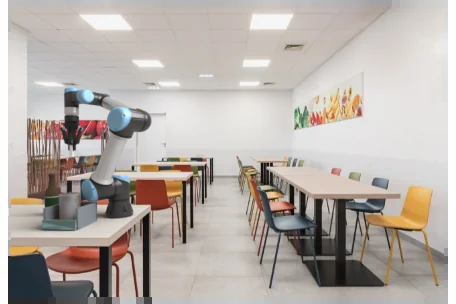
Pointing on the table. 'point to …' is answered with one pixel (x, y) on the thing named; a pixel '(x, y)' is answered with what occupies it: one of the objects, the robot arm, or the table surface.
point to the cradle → (82, 215)
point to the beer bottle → (51, 192)
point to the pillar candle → (68, 205)
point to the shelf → (59, 224)
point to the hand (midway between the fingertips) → (72, 156)
